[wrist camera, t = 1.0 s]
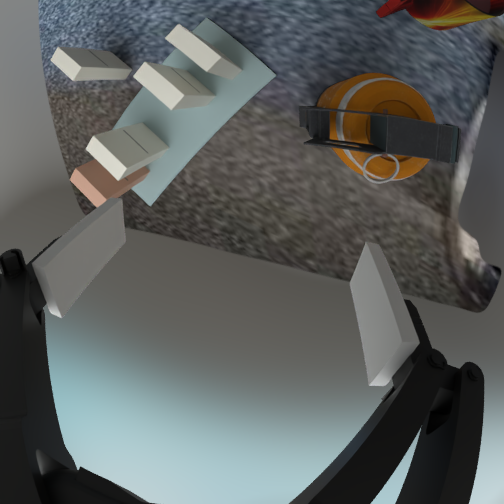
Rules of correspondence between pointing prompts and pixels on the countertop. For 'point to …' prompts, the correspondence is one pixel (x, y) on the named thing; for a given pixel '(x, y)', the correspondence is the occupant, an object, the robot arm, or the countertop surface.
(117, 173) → the domino
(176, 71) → the domino
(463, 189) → the countertop surface
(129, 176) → the end domino
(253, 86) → the mat
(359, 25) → the countertop surface
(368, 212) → the countertop surface
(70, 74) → the domino
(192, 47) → the domino
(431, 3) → the mug
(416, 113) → the canister
